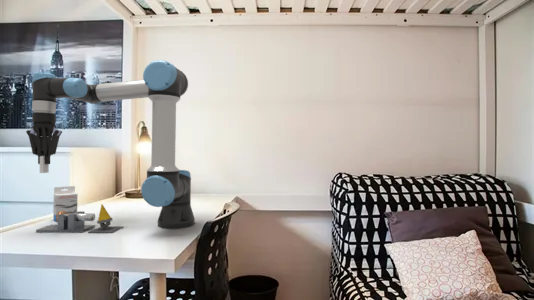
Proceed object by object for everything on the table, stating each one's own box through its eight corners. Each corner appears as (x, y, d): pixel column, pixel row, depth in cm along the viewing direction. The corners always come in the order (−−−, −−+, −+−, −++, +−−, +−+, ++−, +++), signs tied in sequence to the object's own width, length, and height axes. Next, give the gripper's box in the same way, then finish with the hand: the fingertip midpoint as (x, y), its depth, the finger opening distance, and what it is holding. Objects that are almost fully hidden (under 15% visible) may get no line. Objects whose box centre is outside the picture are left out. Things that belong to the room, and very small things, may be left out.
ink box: (55, 222, 134) (55, 188, 134) (53, 220, 137) (53, 187, 137) (77, 218, 139) (77, 186, 140) (75, 217, 143) (75, 185, 143)
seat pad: (123, 227, 124) (123, 226, 124) (111, 233, 115) (111, 232, 115) (101, 227, 124) (101, 226, 124) (88, 233, 115) (88, 232, 115)
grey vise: (94, 227, 124) (95, 211, 124) (82, 232, 116) (82, 215, 116) (51, 227, 124) (51, 210, 124) (35, 232, 116) (36, 215, 116)
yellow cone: (107, 229, 116) (102, 203, 117) (95, 231, 117) (90, 206, 118) (116, 226, 121) (112, 201, 122) (105, 228, 123) (101, 203, 123)
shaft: (96, 221, 122) (96, 210, 122) (89, 224, 117) (89, 212, 117) (64, 221, 122) (64, 209, 122) (55, 224, 118) (56, 212, 118)
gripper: (67, 113, 124) (66, 172, 124) (35, 114, 124) (35, 172, 124) (53, 111, 116) (53, 173, 116) (20, 111, 117) (20, 173, 117)
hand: (44, 172), depth 120 cm, fingers closed
